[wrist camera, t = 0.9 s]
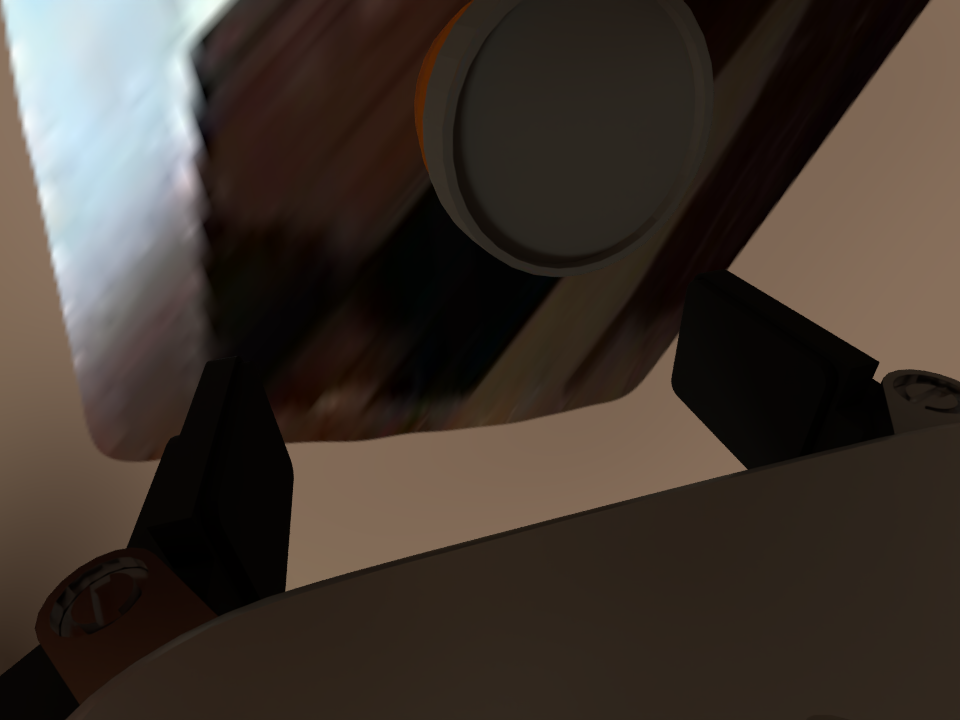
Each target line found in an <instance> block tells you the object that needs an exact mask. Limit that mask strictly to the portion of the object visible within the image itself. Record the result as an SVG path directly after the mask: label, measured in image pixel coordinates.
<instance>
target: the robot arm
mask: <svg viewBox="0 0 960 720" xmlns="http://www.w3.org/2000/svg"><path fill="white" fill-rule="evenodd" d="M878 365H879V361H877V360H875V359H873V358H872V357H870V356H869V355H867V354H865V353H864V352H862V351H860V350H859V349H857V348H855V347H854V346H852V345H850V344H849V343H847V342H845V341H844V340H842V339H840V338H838V337H837V336H835V335H833V334H832V333H830V332H829V331H827V330H825V329H824V328H822V327H820V326H819V325H817V324H815V323H814V322H812V321H810V320H809V319H807V318H805V317H804V316H802V315H800V314H799V313H797V312H795V311H794V310H792V309H790V308H789V307H787V306H786V305H784V304H782V303H780V302H779V301H777V300H775V299H774V298H772V297H771V296H769V295H767V294H766V293H764V292H762V291H761V290H759V289H757V288H756V287H754V286H752V285H750V284H749V283H747V282H746V281H744V280H742V279H741V278H739V277H737V276H736V275H734V274H732V273H731V272H729V271H727V270H724V269H723V270H717V271H711V272H706V273H700V274H698V275H696V277H695V278H694V280H693V281H692V282H690V283H689V285H688V287H687V292H686V297H685V303H684V309H683V315H682V320H681V326H680V332H679V338H678V344H677V349H676V356H675V361H674V367H673V373H672V378H671V382H672V387H673V390H674V392H675V394H676V395H677V396H678V397H679V398H680V399H681V400H682V401H683V402H684V403H685V404H686V405H687V407H688V408H689V409H690V410H691V411H692V412H693V413H694V414H695V415H696V416H697V417H698V418H699V419H700V420H701V421H702V422H703V423H704V424H705V425H706V426H707V427H708V429H710V431H711V432H713V434H714V435H715V436H716V437H717V438H718V439H719V440H720V441H721V442H722V443H723V444H724V445H725V446H726V447H727V448H728V449H729V450H730V452H731V453H733V455H734V456H735V457H736V458H737V459H738V460H739V461H740V462H741V463H742V464H743V465H744V466H745V467H746V468H747V469H748V470H745V471H741V472H737V473H733V474H729V475H725V476H721V477H717V478H713V479H709V480H705V481H701V482H697V483H693V484H689V485H685V486H681V487H677V488H673V489H669V490H665V491H661V492H657V493H654V494H649V495H646V496H641V497H638V498H634V499H630V500H626V501H622V502H618V503H614V504H610V505H606V506H602V507H598V508H594V509H591V510H587V511H583V512H579V513H575V514H571V515H567V516H563V517H559V518H555V519H552V520H547V521H544V522H540V523H536V524H532V525H528V526H525V527H521V528H517V529H513V530H509V531H505V532H501V533H497V534H494V535H490V536H486V537H482V538H478V539H474V540H471V541H467V542H463V543H459V544H455V545H452V546H447V547H444V548H440V549H436V550H432V551H428V552H425V553H421V554H417V555H413V556H409V557H406V558H402V559H398V560H395V561H391V562H387V563H383V564H380V565H376V566H373V567H369V568H366V569H361V570H358V571H354V572H350V573H347V574H344V575H340V576H336V577H333V578H329V579H326V580H322V581H319V582H316V583H312V584H309V585H306V586H302V587H299V588H296V589H293V590H290V591H286V592H285V587H286V574H287V561H288V547H289V535H290V521H291V507H292V495H293V481H294V474H293V467H292V463H291V459H290V457H289V454H288V451H287V449H286V446H285V443H284V441H283V438H282V435H281V433H280V430H279V427H278V425H277V422H276V419H275V417H274V414H273V411H272V409H271V406H270V403H269V401H268V398H267V395H266V393H265V390H264V387H263V385H262V382H261V379H260V377H259V374H258V371H257V369H256V366H255V364H254V363H253V362H252V361H250V362H244V361H243V360H242V358H241V357H240V356H236V357H230V358H224V359H219V360H213V361H208V362H207V363H206V365H205V367H204V370H203V373H202V376H201V378H200V381H199V384H198V387H197V389H196V392H195V395H194V398H193V400H192V403H191V406H190V409H189V411H188V414H187V417H186V420H185V422H184V425H183V428H182V431H181V433H180V435H178V436H174V437H172V438H171V439H170V440H169V442H168V443H167V445H166V448H165V450H164V453H163V455H162V458H161V460H160V463H159V466H158V468H157V471H156V473H155V476H154V479H153V481H152V484H151V487H150V489H149V492H148V494H147V497H146V499H145V502H144V504H143V507H142V510H141V512H140V515H139V517H138V520H137V523H136V525H135V528H134V530H133V533H132V535H131V538H130V541H129V543H128V546H127V548H126V549H120V550H115V551H112V552H109V553H107V554H104V555H102V556H99V557H96V558H95V559H93V560H91V561H89V562H88V563H86V564H85V565H83V566H81V567H79V568H78V569H76V570H75V571H74V572H73V573H71V574H70V575H69V576H68V577H66V578H65V579H64V580H63V581H62V582H61V583H60V584H59V585H58V586H57V587H56V588H55V589H54V590H53V592H52V593H51V594H50V595H49V596H48V597H47V599H46V601H45V603H44V604H43V606H42V608H41V609H40V611H39V613H38V616H37V621H36V625H35V631H36V635H37V638H38V641H39V643H40V645H38V646H37V647H36V648H35V649H33V650H32V651H31V652H30V653H28V654H27V655H26V656H25V657H23V658H22V659H21V660H20V661H18V662H17V663H16V664H15V665H13V666H12V667H11V668H10V669H8V670H7V671H6V672H5V673H3V674H2V675H1V676H0V720H960V382H959V381H957V380H955V379H952V378H949V377H946V376H943V375H940V374H936V373H932V372H927V371H921V370H910V369H909V370H897V371H894V372H890V373H888V374H887V375H886V376H885V377H884V378H883V380H882V382H881V384H880V383H878V382H877V381H875V380H874V379H872V378H873V376H874V374H875V371H876V369H877V367H878Z"/></svg>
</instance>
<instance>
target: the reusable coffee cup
mask: <svg viewBox="0 0 960 720" xmlns="http://www.w3.org/2000/svg"><path fill="white" fill-rule="evenodd" d="M713 102H714V86H713V74H712V64H711V60H710V56H709V53H708V49H707V45H706V42H705V38H704V35H703V33H702V31H701V29H700V27H699V25H698V23H697V21H696V19H695V17H694V15H693V13H692V11H691V9H690V8H689V7H688V6H687V4H686V3H685V2H684V1H683V0H472V1H470V2H469V3H468V4H467V5H465V6H464V7H463V8H462V9H461V10H460V11H459V12H458V13H457V14H456V15H455V16H454V17H453V18H452V19H451V20H450V21H449V23H448V24H447V25H446V26H445V27H444V29H443V30H442V31H441V32H440V33H439V35H438V36H437V37H436V38H435V40H434V42H433V44H432V45H431V47H430V49H429V51H428V53H427V55H426V56H425V58H424V61H423V64H422V67H421V70H420V74H419V77H418V80H417V86H416V94H415V101H414V106H415V125H416V130H417V134H418V138H419V143H420V147H421V152H422V156H423V160H424V164H425V166H426V168H427V171H428V173H429V175H430V179H431V181H432V183H433V186H434V188H435V190H436V193H437V195H438V197H439V200H440V202H441V204H442V205H443V207H444V208H445V210H446V211H447V212H448V214H449V215H450V217H451V218H452V220H453V221H454V223H455V224H456V225H457V226H458V227H459V228H460V229H461V230H462V231H464V232H465V233H466V234H467V235H468V236H469V237H470V238H471V239H472V240H473V241H474V242H476V243H477V244H478V245H480V246H481V247H482V248H484V249H485V250H486V251H488V252H489V253H490V254H492V255H493V256H495V257H496V258H498V259H500V260H501V261H503V262H505V263H506V264H508V265H510V266H511V267H513V268H516V269H519V270H522V271H525V272H528V273H531V274H534V275H543V276H552V277H563V276H574V275H581V274H585V273H588V272H592V271H595V270H599V269H602V268H604V267H606V266H608V265H610V264H613V263H615V262H617V261H619V260H621V259H623V258H625V257H626V256H627V255H629V254H630V253H632V252H633V251H635V250H636V249H637V248H639V247H640V246H642V245H643V244H645V243H646V242H647V241H648V240H649V239H650V238H651V237H652V236H653V235H654V234H655V233H656V232H657V231H658V230H659V229H660V228H661V227H662V226H663V225H664V224H665V223H666V222H667V220H668V219H669V218H670V216H671V215H672V214H673V213H674V211H675V210H676V209H677V207H678V206H679V205H680V203H681V202H682V200H683V198H684V196H685V195H686V193H687V191H688V189H689V188H690V186H691V184H692V182H693V181H694V179H695V176H696V174H697V171H698V169H699V166H700V164H701V161H702V159H703V156H704V154H705V150H706V146H707V142H708V137H709V133H710V129H711V125H712V115H713Z"/></svg>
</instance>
